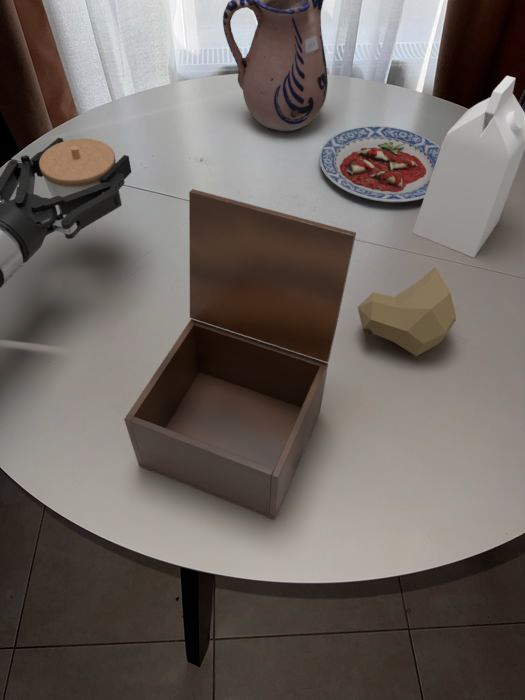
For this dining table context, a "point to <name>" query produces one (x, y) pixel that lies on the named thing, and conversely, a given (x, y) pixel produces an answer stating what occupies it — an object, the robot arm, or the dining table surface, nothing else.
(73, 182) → the trinket box
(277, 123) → the ceramic pitcher
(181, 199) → the dining table surface
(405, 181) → the ceramic plate
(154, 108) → the dining table surface
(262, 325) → the lid
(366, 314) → the tan faceted lump
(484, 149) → the milk
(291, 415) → the chest
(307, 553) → the dining table surface
